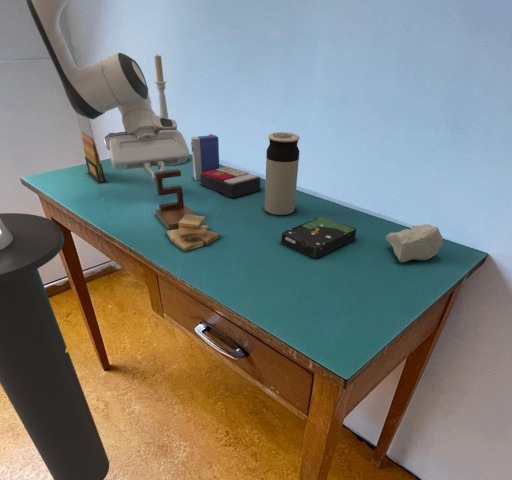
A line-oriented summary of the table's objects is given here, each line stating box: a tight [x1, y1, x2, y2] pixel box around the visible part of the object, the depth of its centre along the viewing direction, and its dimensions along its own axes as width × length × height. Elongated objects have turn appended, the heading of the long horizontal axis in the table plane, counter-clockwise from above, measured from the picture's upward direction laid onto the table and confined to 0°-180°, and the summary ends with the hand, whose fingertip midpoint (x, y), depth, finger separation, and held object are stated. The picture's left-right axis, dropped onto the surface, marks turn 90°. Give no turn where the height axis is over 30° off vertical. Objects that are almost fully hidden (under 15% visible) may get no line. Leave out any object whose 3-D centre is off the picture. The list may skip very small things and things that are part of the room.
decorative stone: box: [385, 223, 444, 263], centre depth 85 cm, size 11×9×10 cm
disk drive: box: [280, 216, 357, 259], centre depth 91 cm, size 10×3×15 cm
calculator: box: [200, 166, 261, 199], centre depth 117 cm, size 11×4×15 cm
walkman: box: [190, 133, 220, 181], centre depth 120 cm, size 8×3×12 cm, turn 115°
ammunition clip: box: [81, 131, 106, 184], centre depth 118 cm, size 11×2×12 cm, turn 35°
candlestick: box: [154, 53, 183, 166], centre depth 128 cm, size 13×13×30 cm
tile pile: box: [166, 214, 220, 252], centre depth 90 cm, size 10×11×4 cm
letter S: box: [154, 169, 197, 231], centre depth 95 cm, size 8×10×10 cm
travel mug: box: [264, 131, 300, 216], centre depth 100 cm, size 8×8×18 cm
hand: (158, 180), depth 104 cm, fingers closed
